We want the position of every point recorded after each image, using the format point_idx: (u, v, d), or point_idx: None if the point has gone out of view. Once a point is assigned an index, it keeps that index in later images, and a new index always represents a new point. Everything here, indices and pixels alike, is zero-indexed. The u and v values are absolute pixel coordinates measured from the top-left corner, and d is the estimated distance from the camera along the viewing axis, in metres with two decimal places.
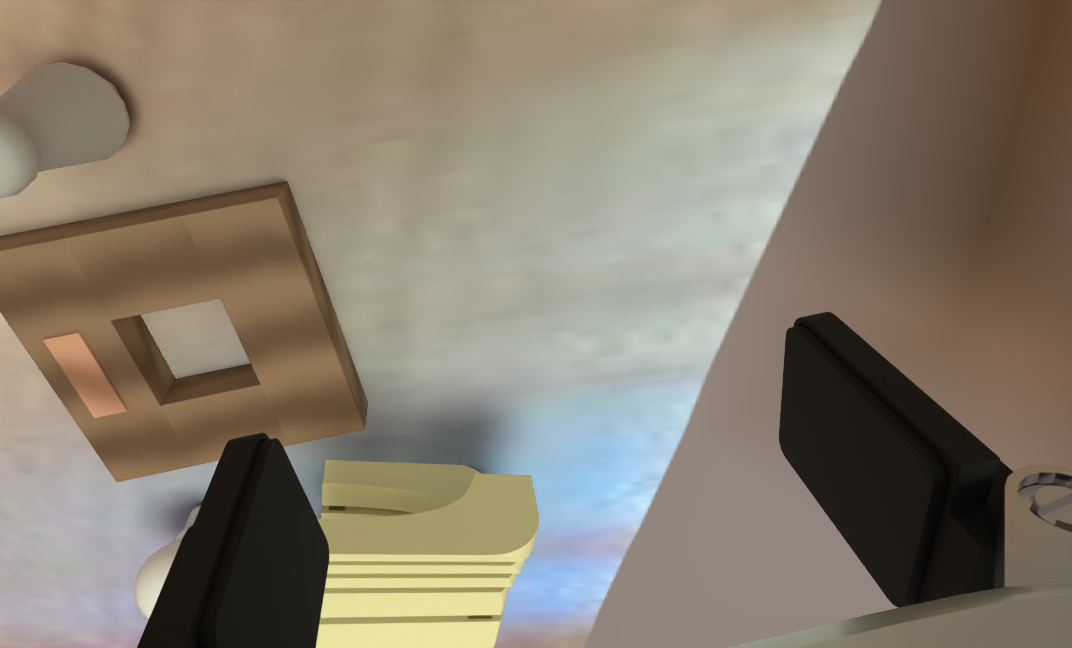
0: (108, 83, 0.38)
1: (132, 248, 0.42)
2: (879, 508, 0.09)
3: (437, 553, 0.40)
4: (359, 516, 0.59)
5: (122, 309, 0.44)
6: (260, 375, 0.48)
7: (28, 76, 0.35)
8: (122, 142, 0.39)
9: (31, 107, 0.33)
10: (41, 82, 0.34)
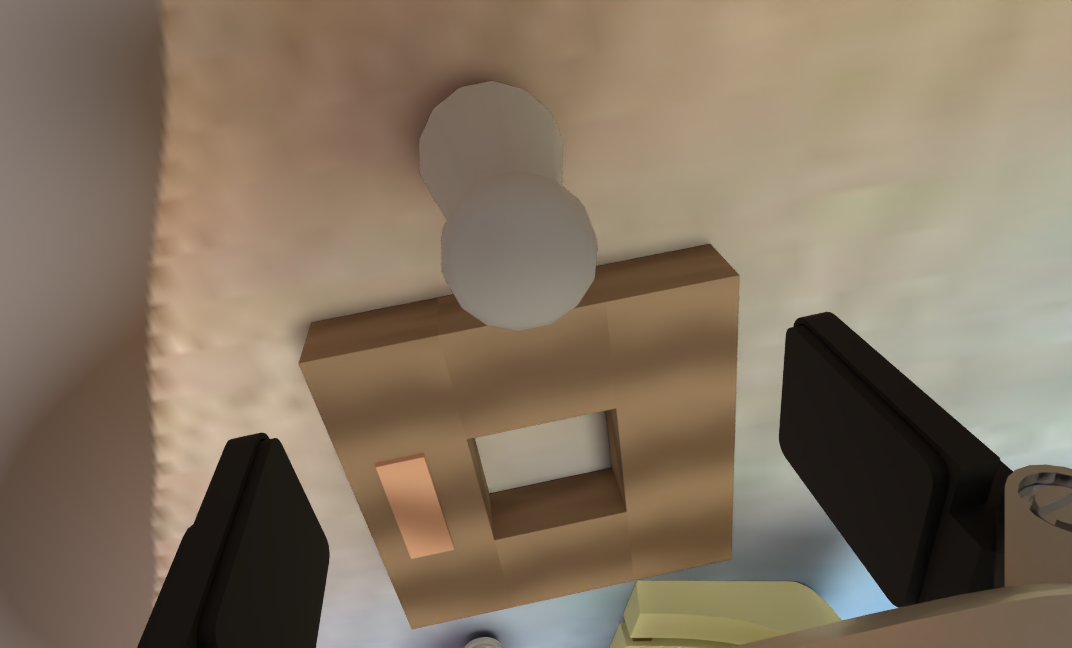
0: (549, 112, 0.25)
1: (525, 346, 0.29)
2: (878, 508, 0.09)
3: None
4: None
5: (486, 425, 0.31)
6: (630, 501, 0.35)
7: (475, 106, 0.22)
8: None
9: (538, 164, 0.20)
10: (511, 117, 0.22)
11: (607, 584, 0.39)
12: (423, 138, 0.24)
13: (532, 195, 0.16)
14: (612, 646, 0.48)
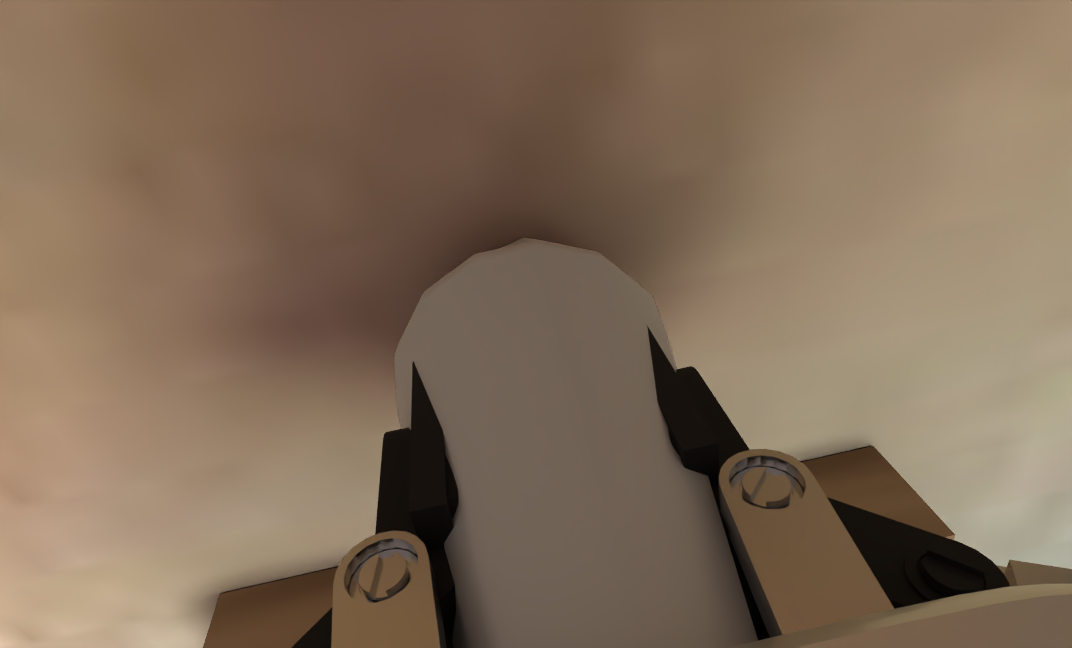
0: (647, 292, 0.13)
1: None
2: None
3: None
4: None
5: None
6: None
7: (511, 324, 0.10)
8: None
9: (695, 546, 0.08)
10: (597, 366, 0.09)
11: None
12: (402, 359, 0.12)
13: None
14: None
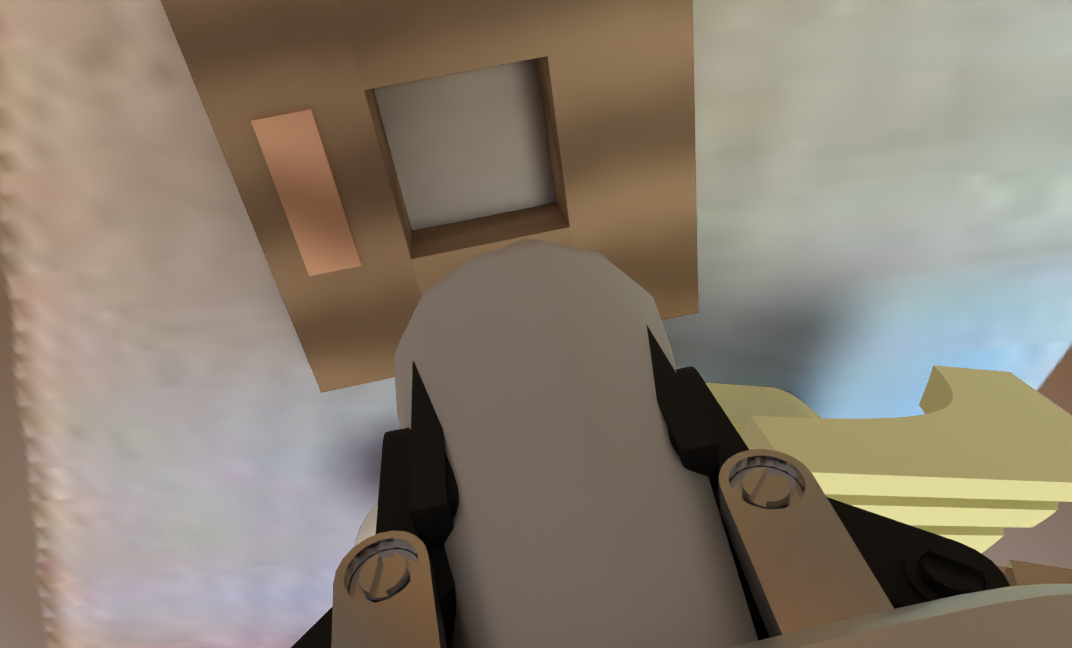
0: (648, 293, 0.13)
1: None
2: None
3: (1014, 478, 0.22)
4: None
5: (387, 68, 0.25)
6: (573, 210, 0.29)
7: (512, 324, 0.10)
8: None
9: (695, 547, 0.08)
10: (598, 367, 0.09)
11: None
12: (402, 359, 0.12)
13: None
14: None
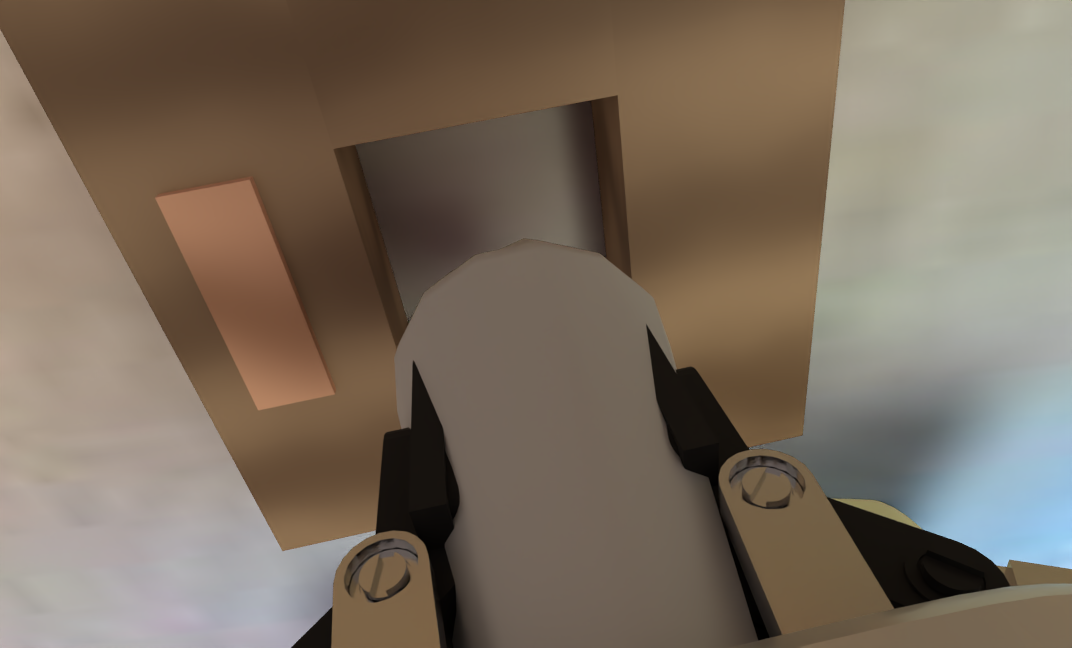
0: (648, 294, 0.13)
1: None
2: None
3: None
4: None
5: (369, 116, 0.16)
6: None
7: (512, 324, 0.10)
8: None
9: (696, 546, 0.08)
10: (598, 367, 0.09)
11: None
12: (402, 360, 0.12)
13: None
14: None
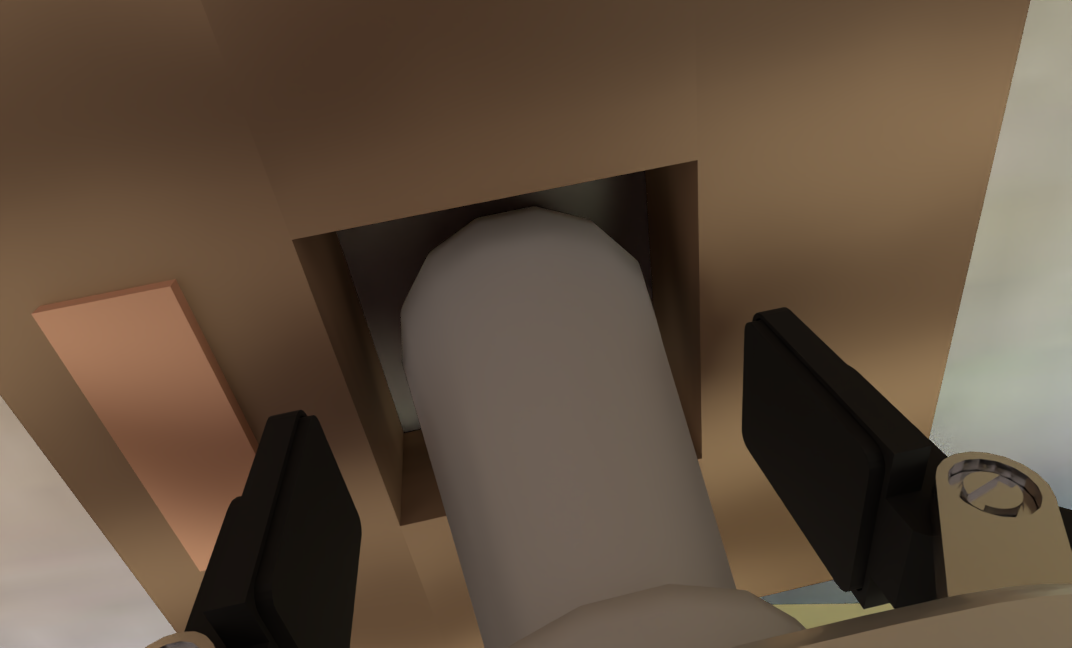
0: None
1: None
2: (826, 496, 0.10)
3: None
4: None
5: (343, 194, 0.11)
6: (712, 431, 0.15)
7: (510, 275, 0.11)
8: None
9: (667, 452, 0.09)
10: (586, 311, 0.11)
11: None
12: (408, 312, 0.13)
13: None
14: None
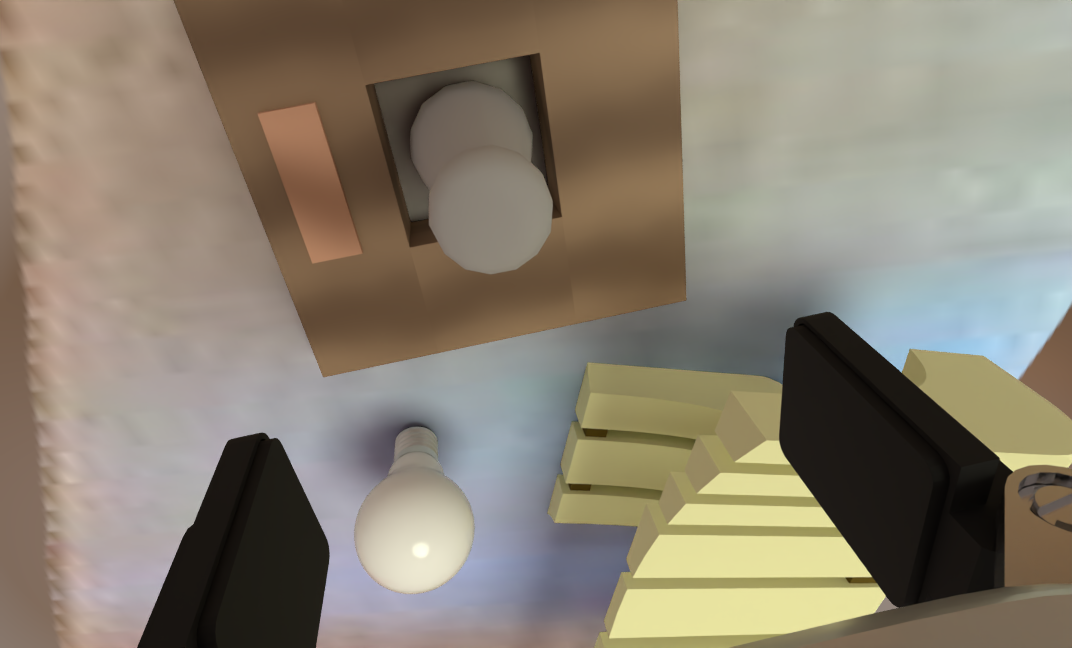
0: (521, 108, 0.30)
1: None
2: (878, 508, 0.09)
3: None
4: (626, 445, 0.41)
5: (387, 64, 0.27)
6: (565, 200, 0.31)
7: (457, 100, 0.27)
8: None
9: (509, 144, 0.24)
10: (487, 109, 0.26)
11: (546, 327, 0.34)
12: (414, 127, 0.29)
13: (500, 161, 0.20)
14: (564, 453, 0.43)
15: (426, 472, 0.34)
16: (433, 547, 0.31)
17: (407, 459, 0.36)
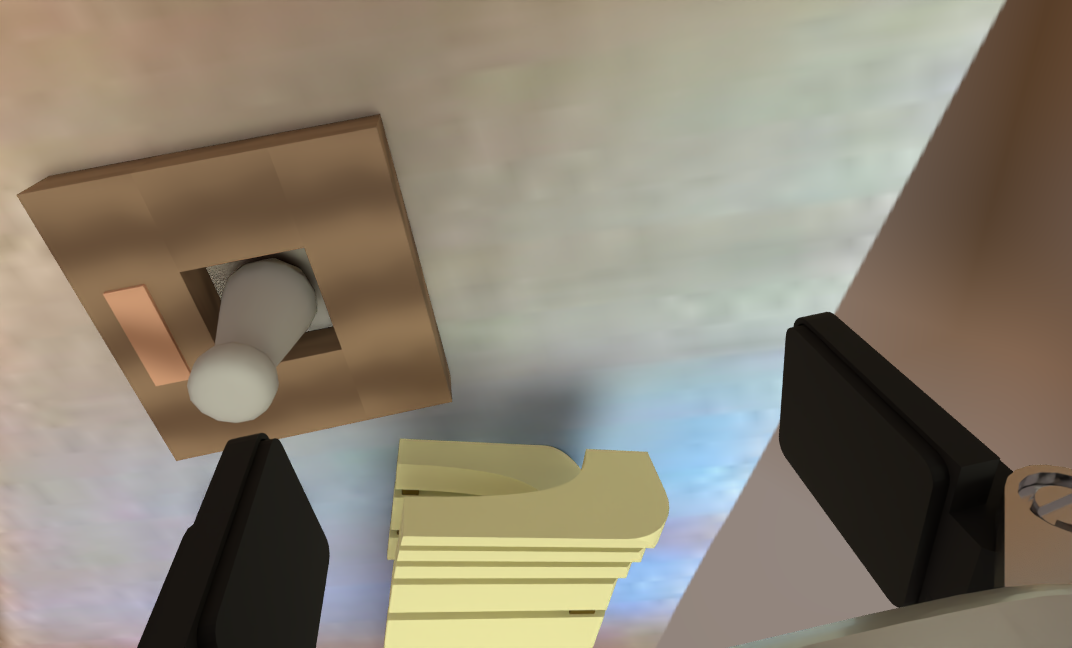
0: (304, 276, 0.41)
1: (208, 186, 0.36)
2: (878, 508, 0.09)
3: (566, 536, 0.35)
4: None
5: (193, 259, 0.38)
6: (342, 338, 0.42)
7: (244, 282, 0.38)
8: (310, 324, 0.42)
9: (263, 327, 0.36)
10: (260, 292, 0.38)
11: (344, 422, 0.46)
12: (222, 294, 0.40)
13: (226, 361, 0.32)
14: (392, 505, 0.55)
15: None
16: None
17: None
